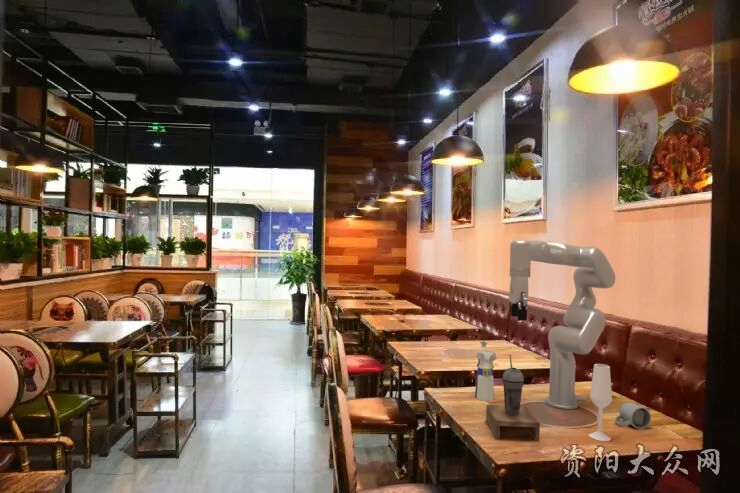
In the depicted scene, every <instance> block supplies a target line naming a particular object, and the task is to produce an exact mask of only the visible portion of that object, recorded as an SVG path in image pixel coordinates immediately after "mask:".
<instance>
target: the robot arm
mask: <svg viewBox="0 0 740 493" xmlns="http://www.w3.org/2000/svg"><path fill="white" fill-rule="evenodd" d="M509 248H510V249H509V277H510V281H509V293H508V294H509V295H508V300H509V302H511V303H510V305H511V306H510V316H511V317H513V318H514V317H517V320H518V321H521V322H522V321H524V322H525V321H527V320H528V301H529V278H531V265H532V263H531V262H532V261H533V262H536V263H537V262H538V263H544V264H551V265H557V266H568V267H575V268H576V269H575V270H574V272H573V275H572V276H573V278H572V279H573V282H574V283H573V284H574V287H575V295H574V297H573V299H572V301H571V303H570V304H569V305H568V308H567V309H566V311H565V312H564V315H563V317H562V318H563V319H562V320H563V324H565V326H563V325H556V326H554V327H551V328H550V330H549V332H548V335H547V339H548V346H549V352H550V353H549V355H550V356H549V358H550V359H549V360H550V361H549V362H550V363H549V390H548V391H549V393H548V394H549V396H547V397H546V398H545V399H544V402H545V404H546V405H548V406H550V407H552V408H556V409H557V408H558V409H562V410H563V409H564V410H575V409H577V408H579V402H583V403H584V402H587V401H588V397H587V396H582V395H580V394H576V393H575V392H576V388H575V387H576V359H575V356H574V354H577V355H588V354H590V352H591V351H592V350H593V348H594V347H595V345H596V343H597V342H598V340H599V338H600V337H601V334H602V332H603V331H604V329H605V325H606V316H605V314H604V312H603V311H602V310H600V309H598V308H595V306H596V304H597V298H596V295H595V294H594V291H593V289H592V288H594V289H596V288H597V289H610V288H612V287H614V285H615V283H616V273H615V270H614V269H613V268H612V267H613V266H612V265H611V263H610V262H609V260H608V258H607V257H606V255H605V253H603V251H602V250H601V249H600V248H599V247H596V246H579V245H578V246H577V245H570V244H566V243H560V242H559V243H556V242H549V243H548V242H546V241H543V240H512V241H511V242H510V246H509Z"/></svg>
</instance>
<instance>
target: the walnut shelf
mask: <svg viewBox="0 0 740 493" xmlns="http://www.w3.org/2000/svg"><path fill="white" fill-rule="evenodd" d="M485 407H486V410H485V411H486V415H485V422H486V424H487V425H488V427H489V430H490V431H491V433H492V435H493V437H494V438H495V440H500V439H501V435H500V434H501V427H523V428H525V429H526V431H527V432H528V433H529V435H530V436H531V437H532V438H533V440H534V441H535V442H540V429H541V428H540V427H541V425H540V422H539V420H538V419H537V418H536V416H535V415H534V414H533V413H532V412H531V410H530V409H528V407H527V406H525V405H524V406H523V405H520V410H519V415H516V416H513V415H508V414H506V413H505V404H504V405H501V404H500V405H499V404H486V406H485Z"/></svg>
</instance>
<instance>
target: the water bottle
mask: <svg viewBox="0 0 740 493" xmlns="http://www.w3.org/2000/svg"><path fill="white" fill-rule="evenodd" d="M479 344H480V345H481V348H484V349H479V350H477V351H476V353H475V358H477V360H478V362H477V364H476V367H477V374H476V375H475V376H476V378H475V392H474V398H475V399H476V400H478V401H483V402H491V401H493V400H494V399H495V395H494V393H495V392H494V390H495V389H494V388H495V387H494V386H495V385H494V384H495V383H494V380H495V379H494V378H495V377H494V368H495V366H494V363H493V362H494V361H495V360H496V359H497V354H496V352H495V351H493V350H489V349H486V348H487V345H488V344H489V343H488V342H485V339H483V340H482V341H480V342H479Z"/></svg>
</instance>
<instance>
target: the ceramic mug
mask: <svg viewBox="0 0 740 493" xmlns="http://www.w3.org/2000/svg"><path fill="white" fill-rule="evenodd" d="M618 413H619V415H617V416H615V418H614V422H615V424H616V426H619V427H627V426H630V425H631V427H634V428H635V429H637V430H644V429H646V428H647V427H649V426H650V424H651V422H652V416H651V413H650V411H649V409H647V408H646V407H644V406H641V405H639V404H636V403H633V402H625V403H623V404H622V405H621V406H620V407H619V412H618ZM620 420H623V421H620ZM619 421H620V422H619Z"/></svg>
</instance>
